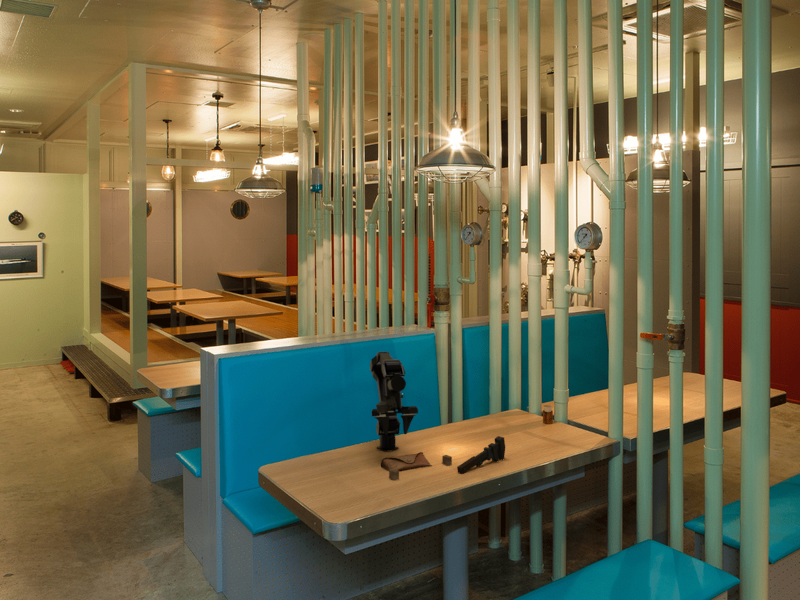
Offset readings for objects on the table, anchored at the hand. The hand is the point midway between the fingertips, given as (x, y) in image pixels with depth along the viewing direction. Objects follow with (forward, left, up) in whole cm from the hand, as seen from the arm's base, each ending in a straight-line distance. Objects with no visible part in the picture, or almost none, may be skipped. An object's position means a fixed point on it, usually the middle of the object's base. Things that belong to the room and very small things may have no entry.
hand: (395, 434), depth 246 cm
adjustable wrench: (+24, +22, -11) cm, 34 cm away
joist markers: (+15, 0, -10) cm, 18 cm away
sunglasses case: (+7, 0, -11) cm, 13 cm away
